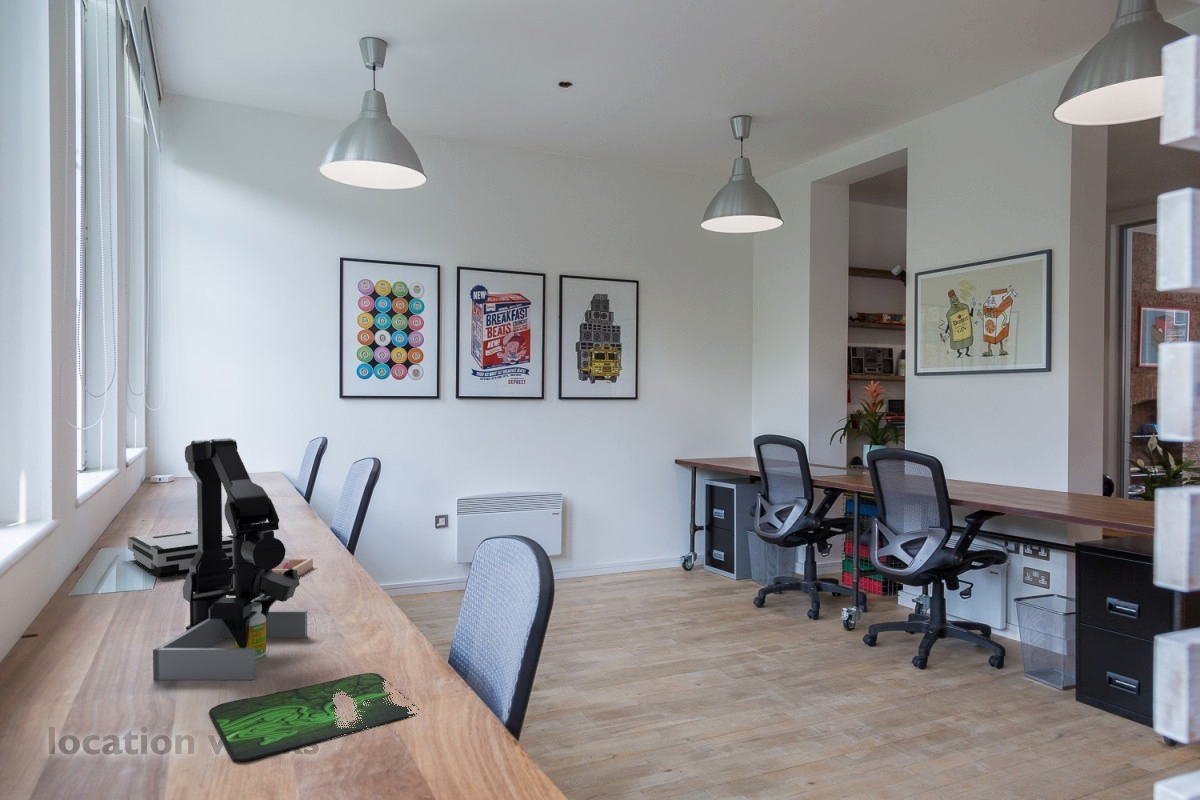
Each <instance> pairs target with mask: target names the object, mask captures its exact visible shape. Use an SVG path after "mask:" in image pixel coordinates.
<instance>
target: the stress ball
mask: <svg viewBox="0 0 1200 800" xmlns="http://www.w3.org/2000/svg"><path fill="white" fill-rule="evenodd" d="M289 559H290V558H289V557H288V556H287V555H286V554H285V557H284V559H283V561H282V562H281V563H280V564H279V565H278V566H277V567H275V568H273V569H289V568H288V566H289Z"/></svg>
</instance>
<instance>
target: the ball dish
mask: <svg viewBox="0 0 1200 800" xmlns="http://www.w3.org/2000/svg"><path fill="white" fill-rule="evenodd" d="M290 568H292V569H295V570H297V573H298V577H300V576H301V575H303V574H305V573H306V572H307V571H310V570H311V569H313V568H314V558H289V566H288V568H287V569H272V571H273V572H276V573H279V572H282V574H283V573H284V572H285V571H286V570H288V569H290Z"/></svg>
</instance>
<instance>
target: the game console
mask: <svg viewBox="0 0 1200 800" xmlns="http://www.w3.org/2000/svg"><path fill="white" fill-rule="evenodd" d="M232 537H233V534H232V535H230V534H229V535H222V547H223V551H224V552H225V554H226V555H227V557H228V558H230V560H231V561H232V567H233V538H232ZM127 549H128V550H129V551H131V552H132V553H133V559H134V560H135V563H136V562H138V563H139V564H141V565H142V566H143V567H142V566H141V565H140V566H141V567H142V568H144V567H145V568H146V570H147V569H148V570H149V572H150V571H151V572H150V573H151V574H153V573H154V574H153V575H154V576H156V575H157V576H156V577H158V578H164V577H169V576H170V577H171V576H176V575H183V574H184V573H185V570H188V569H190V562H191V561H192V559H193V558H194V556H195V554H196V553H197V551H198V528H195V529H194V528H193V529H185V532H181V533H172V534H166V535H157V536H156V535H155V536H150V535H149V534H145V535H137V536H129V537H127ZM138 563H137V564H138ZM139 564H138V565H139ZM145 568H144V569H145ZM148 570H147V571H148Z"/></svg>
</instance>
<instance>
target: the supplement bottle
mask: <svg viewBox="0 0 1200 800" xmlns="http://www.w3.org/2000/svg"><path fill="white" fill-rule="evenodd" d="M251 611H257V613H256V614H255V615H254V616H253V617H252V618H251V619H250V623H249V632H248V641H247V646H246V648H255V660H256V659H261V658H262V657H264V656H265V655H266V654H267V638H266V617H265V615H264V614H262V613H261V611H262V604H261V603H260V602H252V610H251ZM234 648H240V647H239V646H238V644H237V642H236V640H235V639H234Z"/></svg>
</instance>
